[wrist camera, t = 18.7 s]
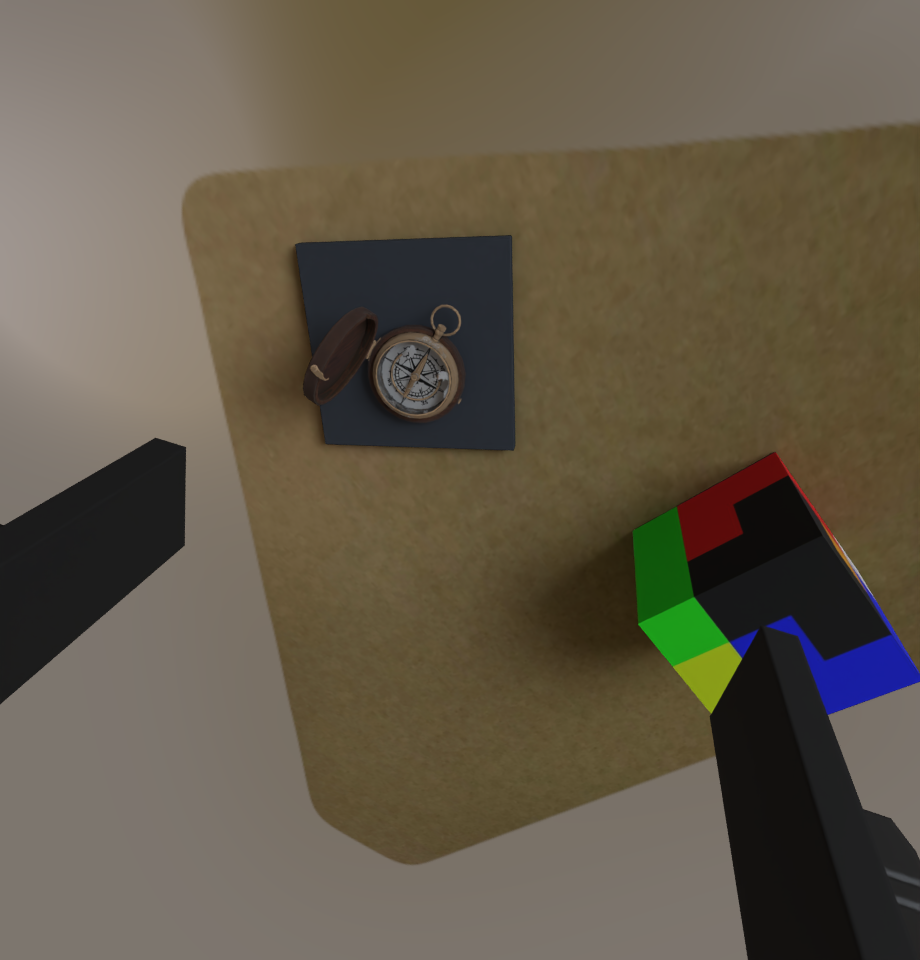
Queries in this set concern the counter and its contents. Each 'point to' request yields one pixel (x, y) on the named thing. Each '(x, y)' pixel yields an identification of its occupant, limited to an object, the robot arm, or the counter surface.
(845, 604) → the puzzle toy
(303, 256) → the mat
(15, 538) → the robot arm
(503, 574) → the counter surface
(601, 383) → the counter surface
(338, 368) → the compass
